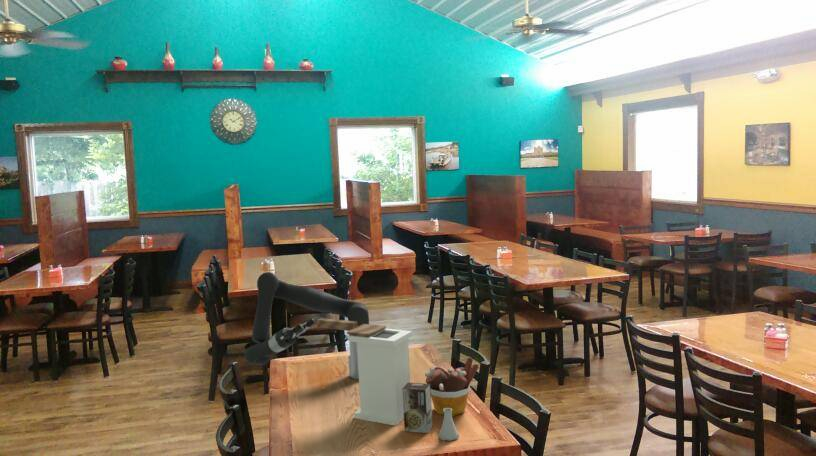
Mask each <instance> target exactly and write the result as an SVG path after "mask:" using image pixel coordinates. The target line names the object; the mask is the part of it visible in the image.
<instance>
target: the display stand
mask: <svg viewBox="0 0 816 456" xmlns="http://www.w3.org/2000/svg"><path fill="white" fill-rule="evenodd" d="M410 338H413V330H405V329H404V330H403V329H394V328H386V329H384V330H382V331H380V332H378V333H376V334H374V335H372V336H370V337H367V336H358V335H349V334H348V335H347V342H349V341H351V342H357V352H358V371H359V379H358V387H359V388H358V390H359V405H360V407H359V409H358V410H357V411H355V412H354V413H353V415H354V419H358V420H363V421H368V422H374V423H379V424H384V425H388V426H389V425H391V426H397V425H398V424H400V423H401V422H402V421H404V410H403V395H402V388H403V387H404V386H405V385H406V384H407V383H411V371H410V347H409V339H410Z"/></svg>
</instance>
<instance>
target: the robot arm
mask: <svg viewBox="0 0 816 456" xmlns="http://www.w3.org/2000/svg"><path fill="white" fill-rule="evenodd" d="M256 288H257V304H256V311H255V316H254V319H253V325H252V333H251V339H252V341H253V342H255V343H256V344H254V345H251V346H250V347H248V348H247V349H246V351H245V353H244V360H245V361H246V362H247V363H248V364H252V365H257V366H258V365H259V366H265V365H266V364H268V362H269V361H270V359H271V357H273V356H275V355H276V354H278V353H280V352H282V351H284V350H286V349H287V348H289V347H291V346H292V345H294V344H295V343H296V339H297V337H298V336H300V335H301V334H303V333H305V332H306V331H308V329H310V328H312V326H313V325H315V324H316V321H315V319H314V318H311V319H309V320H308V321H305V322H304V323H299V324H297V325H296V326H293V327H291V328H290V327H283V328H282V329H281V330H279V331H277V332H276V333H274V334H273V335H272V336H271V337H269V335H270V329H271V321H272V320H271V319H272V308H273V301H274V298H276V299H282V300H284V301H288V302H290V303H293V304H295V305H298V306H300V307H303V308H305V309H309V310H312V311H315V312H320V313H328V314H329V313H330V314H331V313H332V314H336V315H339V316H342V317H344V318H347V321H356V322H358V326H360V325H362V324H370V317H369V316H370V315H369V309H368V307H367V305H365V304H364V303H362V302H359V301H354V300H349V299H345V298H341V297H338V296H336V295H333V294H331V293H328V292H325V291H323V290H320V289H317V288H314V287H311V286H306V285H305V286H304V285H297V284H291V283H287V282H285V281H282V280H280V279H278V277H277V275H276V274H274V273H273V272H271V271H266V272H263V273H262V274H260V275H259V277H258V279H257V281H256ZM348 342H349V356H348V358H347V359H348V376H349V377H350V378H351V379H353V380H359V371H358V352H357V342H351V341H348ZM349 377H348V378H349Z"/></svg>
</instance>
